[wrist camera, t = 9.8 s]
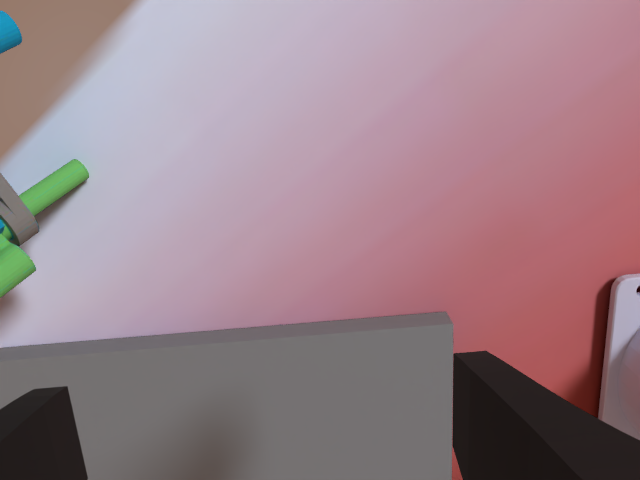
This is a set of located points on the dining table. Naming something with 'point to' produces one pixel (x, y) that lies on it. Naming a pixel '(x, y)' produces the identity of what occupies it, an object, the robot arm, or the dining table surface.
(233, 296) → the dining table surface
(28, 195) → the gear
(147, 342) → the board
